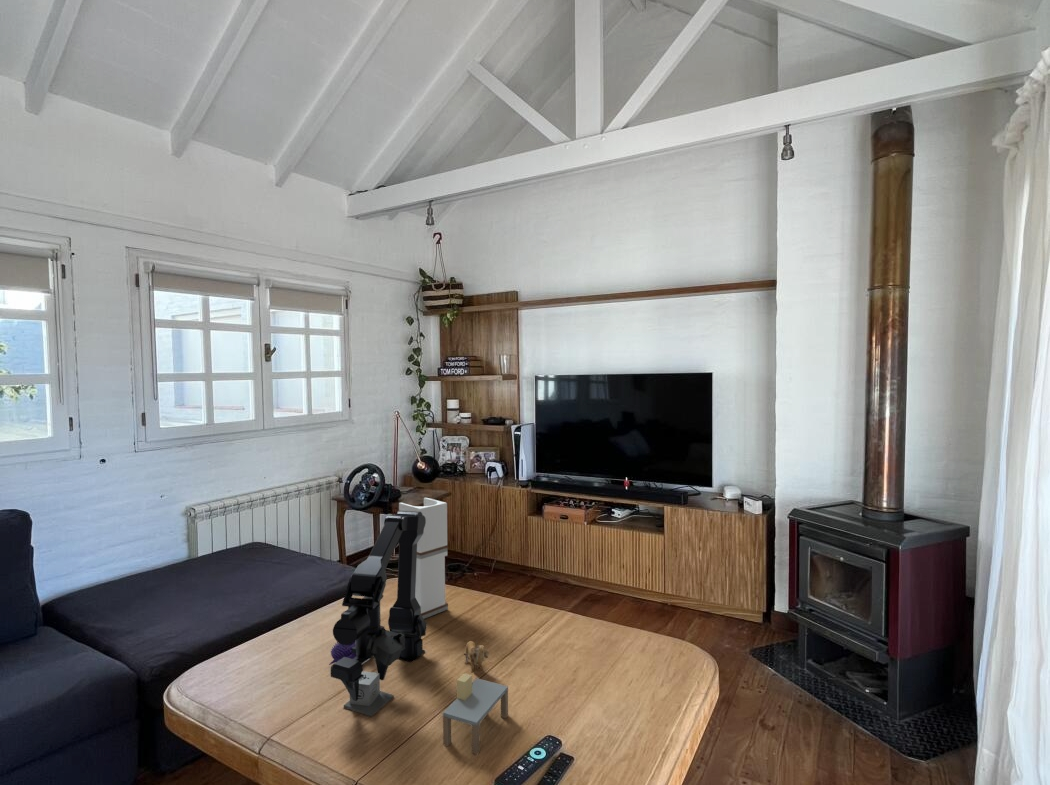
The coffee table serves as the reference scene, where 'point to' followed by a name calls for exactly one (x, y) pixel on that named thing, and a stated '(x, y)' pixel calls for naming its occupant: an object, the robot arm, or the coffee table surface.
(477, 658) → the lion figurine
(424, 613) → the white square tower
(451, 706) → the small grey table
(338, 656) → the creature
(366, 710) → the mat
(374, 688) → the dice cube
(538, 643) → the coffee table surface
